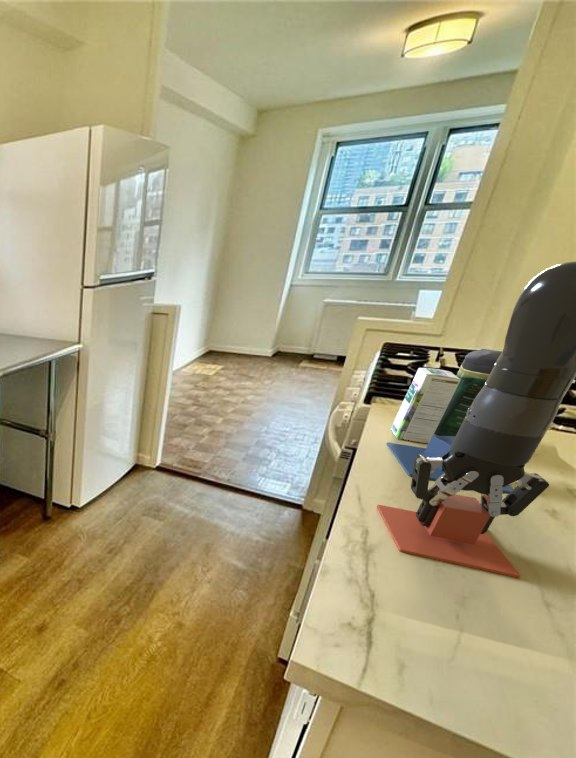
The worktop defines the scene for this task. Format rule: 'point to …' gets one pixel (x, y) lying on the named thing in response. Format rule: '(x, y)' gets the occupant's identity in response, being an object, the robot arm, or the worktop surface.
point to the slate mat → (408, 455)
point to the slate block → (438, 447)
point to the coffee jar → (467, 389)
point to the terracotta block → (459, 519)
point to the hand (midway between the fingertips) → (447, 528)
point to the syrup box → (425, 404)
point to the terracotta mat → (443, 544)
